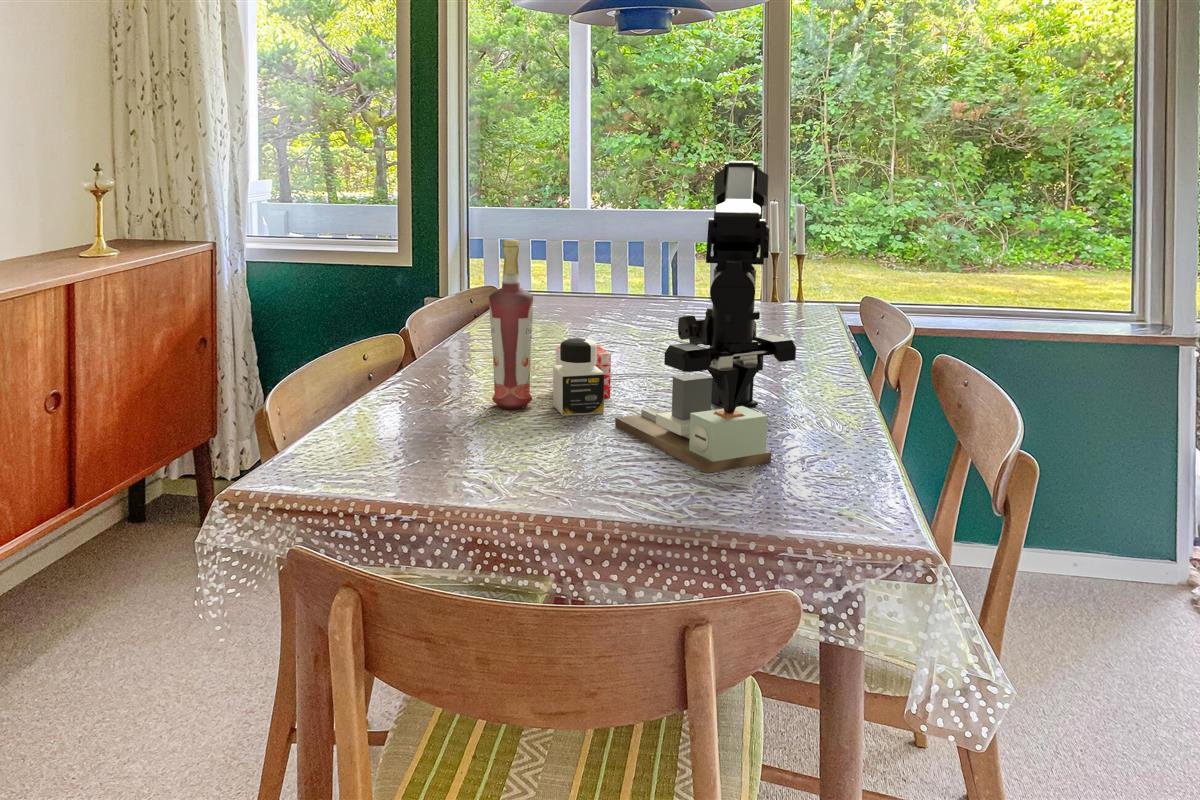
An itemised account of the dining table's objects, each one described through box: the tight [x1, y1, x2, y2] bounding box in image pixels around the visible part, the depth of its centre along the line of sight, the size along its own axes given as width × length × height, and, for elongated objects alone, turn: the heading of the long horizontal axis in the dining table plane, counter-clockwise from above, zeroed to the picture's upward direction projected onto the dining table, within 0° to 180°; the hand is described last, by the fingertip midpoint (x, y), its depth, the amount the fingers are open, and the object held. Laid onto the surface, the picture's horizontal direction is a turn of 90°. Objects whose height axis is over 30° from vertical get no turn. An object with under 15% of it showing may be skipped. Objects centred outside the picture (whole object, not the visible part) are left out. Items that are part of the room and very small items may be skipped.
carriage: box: [656, 372, 713, 439], centre depth 156 cm, size 8×7×8 cm
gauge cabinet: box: [689, 406, 769, 462], centre depth 149 cm, size 9×6×6 cm, turn 118°
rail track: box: [614, 407, 772, 474], centre depth 158 cm, size 11×26×2 cm, turn 28°
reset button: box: [715, 410, 743, 419], centre depth 148 cm, size 3×3×4 cm
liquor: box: [488, 239, 534, 411], centre depth 175 cm, size 7×7×28 cm
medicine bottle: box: [552, 337, 605, 417], centre depth 175 cm, size 7×7×12 cm
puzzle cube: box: [555, 344, 612, 399], centre depth 187 cm, size 8×8×8 cm
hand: (728, 412), depth 148 cm, fingers closed, pressing on reset button
